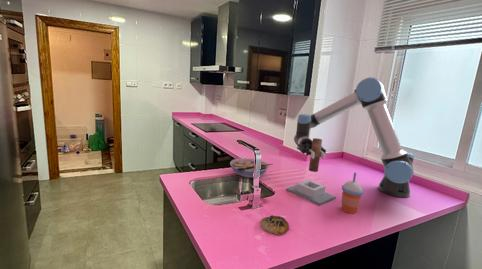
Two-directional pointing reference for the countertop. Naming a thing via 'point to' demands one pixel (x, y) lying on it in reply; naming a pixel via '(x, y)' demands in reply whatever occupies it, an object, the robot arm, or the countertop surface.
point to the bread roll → (274, 225)
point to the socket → (311, 192)
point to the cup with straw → (351, 195)
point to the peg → (316, 149)
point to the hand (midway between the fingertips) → (319, 156)
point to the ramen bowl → (247, 167)
